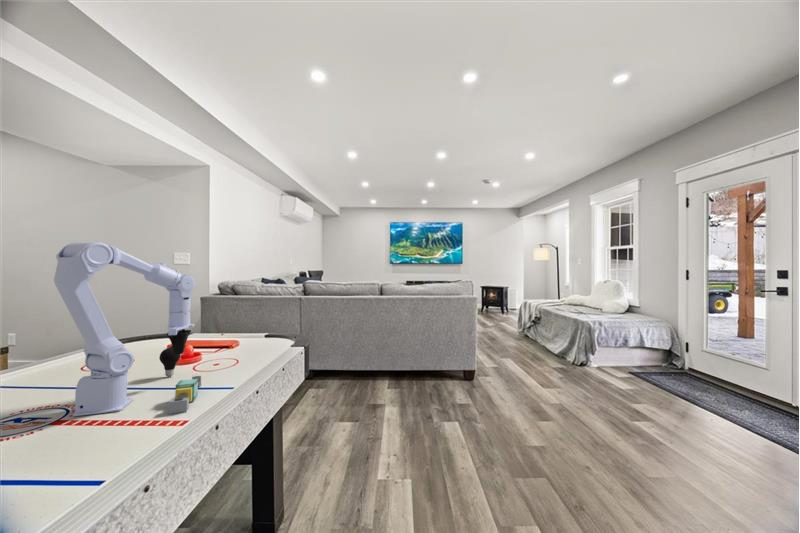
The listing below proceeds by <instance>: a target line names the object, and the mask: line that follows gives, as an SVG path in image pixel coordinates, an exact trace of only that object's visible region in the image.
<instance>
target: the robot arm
mask: <svg viewBox="0 0 800 533" xmlns="http://www.w3.org/2000/svg"><path fill="white" fill-rule="evenodd" d="M55 257H56V260H57V264H56V268H55V272H54V277H53V280H54V285H55V287H56V289H57V291H58V293H59V295H60V297H61V299H62V300H63V302H64V304H65V306H66V308H67V309H68V312H69V313H70V316H71V318H72V320H73V321H74V323H75V325H76V327H77V329H78V331H79V333H80V336H82V338H83V340H84V342H85V345H86V346H85V347H84V349H83V352H84V355H85V360H84V364H85V367H86V368H87V369H88V370H90V375H85V376H82V377H80V379H79V380H78V381H77V384H76V387H75V394H74V396H75V398H74V399H75V400H74V401H75V402H74V413H73V414H72V417H80V416H88V415H89V416H90V415H96V414H104V413H105V414H106V413H114V412H120V411H122V410H123V409H125V407H126V406H127V405H129V404H130V403H131V402H132V401H133V400H134V398H133V397H129V398H128V396H127V393H128V373H129V369H131V368H132V366H133V365H134V362H135V357H134V356H135V355H134V354H133V352H131V351H130V350H129V349H127V348H126V347H125V345H124V344H123V342H121V341H120V340H119V339H117V337H115V335H114V334H113V331H112V329H111V328H110V325H109V324H108V321H107V319H106V317H105V314H104V313H103V311H102V308H101V307H100V304H99V303H98V300H97V298H96V297H95V294H94V292H93V290H92V288H91V286H90V284H89V282H90V280H91V279H92V278H93V276H94V275H95V274H96V273H97V272H100V270H102V269H104V268H105V267H106V266H108V265H116V266H119V267H120V268H124V269H126V270H129V271H133V272H135V273H138V274H141V275H143V276H144V280H146V281H148V282H150V283H153V284H156V285H158V286H160V287H163V288H165V289H166V290H167V291H168V294H169V296H168V298H169V300H168V301H169V302H168V326H167V329H168V330H167V331H168V332H167V333H166V336H167V338H168V339H169V340H170V343H171V348H173V351H174V354H180V355H183V354H184V351H185V349H186V346H187V345H186V343H187V341H188V337H190V334H191V332H192V330H191V329H189V328H195V324H194V323H191V311H192V310H191V308H192V307H191V304H192V303H191V301H192V296H193V291H194V290H195V288H196V285H197V283H196V282H195V280H194V278H193V276H191V275H189V274H181V273H180V272H181V271H180V270H176V269H171V268H169V267H167V264H165V263H164V262H163V263H152V264H150V263H148V262H146V261H144V260H142V259H140V258H137V257H135V256H133V255H132V254H129V253H127V252H125V251H123V250H121V249H119V248H118V247H116V246H113V245H109V244H107V243H104V242H102V241H91V242H70V243H68V244H66V245H65V246H63V247H62V248H61V249H60V250H59V251H58V252H57V254H56V255H55Z"/></svg>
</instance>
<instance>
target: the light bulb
mask: <svg viewBox="0 0 800 533" xmlns="http://www.w3.org/2000/svg"><path fill="white" fill-rule="evenodd" d="M180 358H181V354H174V351H173V347H167V348H165V349H163V350H162V351H161V353H160V354H159V361H160V363H161V364H162V365H163V369H164V371H165V372H164V373H165V376H166V377H168V378H171V377H172V376H173V375H174V374H175V368H176V365H177V364H178V363H177V362H178V361H179V360H180Z"/></svg>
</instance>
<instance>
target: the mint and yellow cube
mask: <svg viewBox="0 0 800 533" xmlns="http://www.w3.org/2000/svg"><path fill="white" fill-rule="evenodd" d="M189 387H192V401H191V402H194V401H195V399H197V397H198V392H199V389H198V388H199V387H198V379H192V378H191V379H182V380H181V379H180V380H179V381H178V382H177V383H176V384H175V390H176V389H182V388H189ZM174 393H175V394H174V395H176V391H175V392H174Z"/></svg>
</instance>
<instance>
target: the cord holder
mask: <svg viewBox="0 0 800 533" xmlns="http://www.w3.org/2000/svg"><path fill="white" fill-rule="evenodd" d="M202 378H203V374H195V375H192V377H191V379H198V386H201V385H203V383H202V382H203V379H202ZM201 387H202V386H201ZM175 392H176V395H175V394H174V395H175V397H174V398H173V399H170V400H169V401H168V407H167V409H168V411H167V415H173V413H174V414H180V413H179V412H182V413H185V412H184V411H187V410H188V411H189V408H190V403H191V402H193V401H192V387H189V388H182V389H176V388H175ZM188 411H187V412H188Z"/></svg>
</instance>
